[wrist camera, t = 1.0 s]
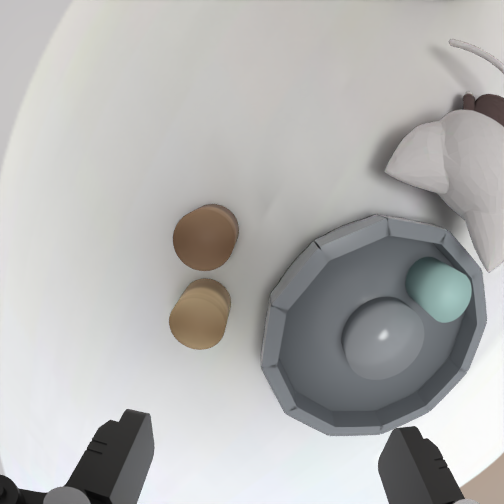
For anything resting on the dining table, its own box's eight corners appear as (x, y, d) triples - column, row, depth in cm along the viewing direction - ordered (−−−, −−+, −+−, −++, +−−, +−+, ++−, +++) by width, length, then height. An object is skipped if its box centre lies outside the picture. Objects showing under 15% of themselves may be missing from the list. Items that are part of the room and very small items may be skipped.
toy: (435, 82, 26) (353, 172, 25) (462, 22, 17) (373, 109, 16) (530, 168, 22) (470, 282, 22) (578, 127, 14) (535, 263, 13)
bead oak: (184, 275, 26) (170, 294, 22) (233, 281, 26) (227, 302, 22) (182, 319, 27) (168, 344, 23) (228, 326, 27) (222, 353, 23)
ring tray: (282, 199, 24) (285, 202, 21) (488, 235, 24) (508, 242, 21) (251, 409, 29) (250, 431, 26) (428, 411, 29) (439, 428, 26)
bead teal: (411, 253, 24) (437, 269, 20) (448, 259, 24) (477, 274, 20) (400, 299, 25) (422, 321, 21) (437, 302, 25) (462, 323, 21)
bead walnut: (190, 201, 25) (175, 206, 20) (241, 207, 25) (237, 213, 20) (186, 251, 26) (171, 266, 21) (235, 257, 26) (230, 274, 21)
